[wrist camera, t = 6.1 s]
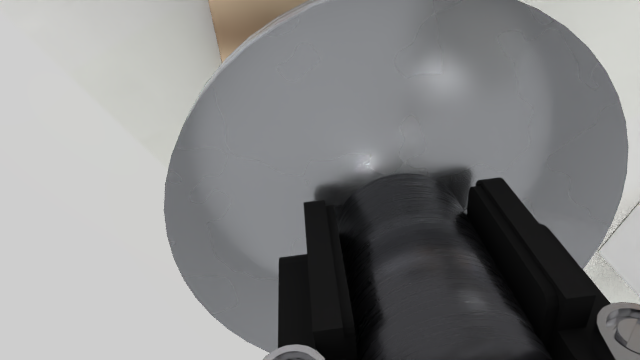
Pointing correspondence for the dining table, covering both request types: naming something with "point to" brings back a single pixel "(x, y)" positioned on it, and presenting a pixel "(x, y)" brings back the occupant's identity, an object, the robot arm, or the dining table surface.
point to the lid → (394, 166)
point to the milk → (625, 250)
